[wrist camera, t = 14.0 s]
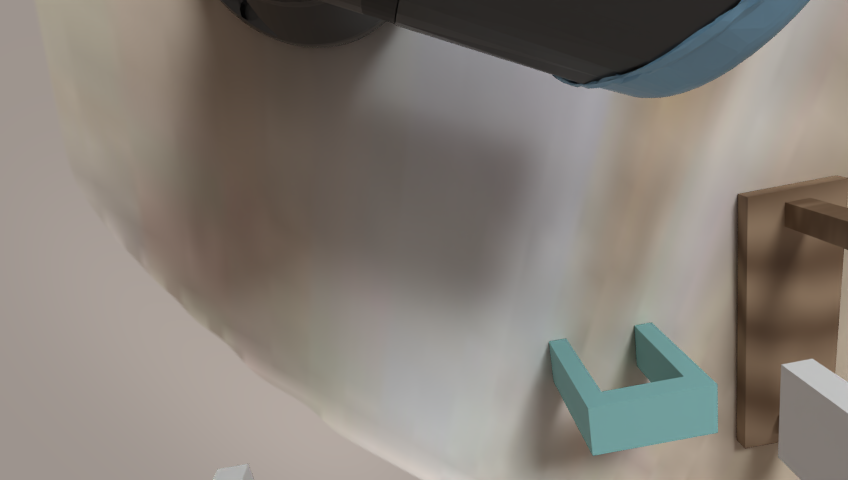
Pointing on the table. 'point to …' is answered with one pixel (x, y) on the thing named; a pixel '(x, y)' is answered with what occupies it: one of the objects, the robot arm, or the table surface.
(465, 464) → the table surface
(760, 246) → the walnut stand
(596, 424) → the teal arch block
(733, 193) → the table surface
